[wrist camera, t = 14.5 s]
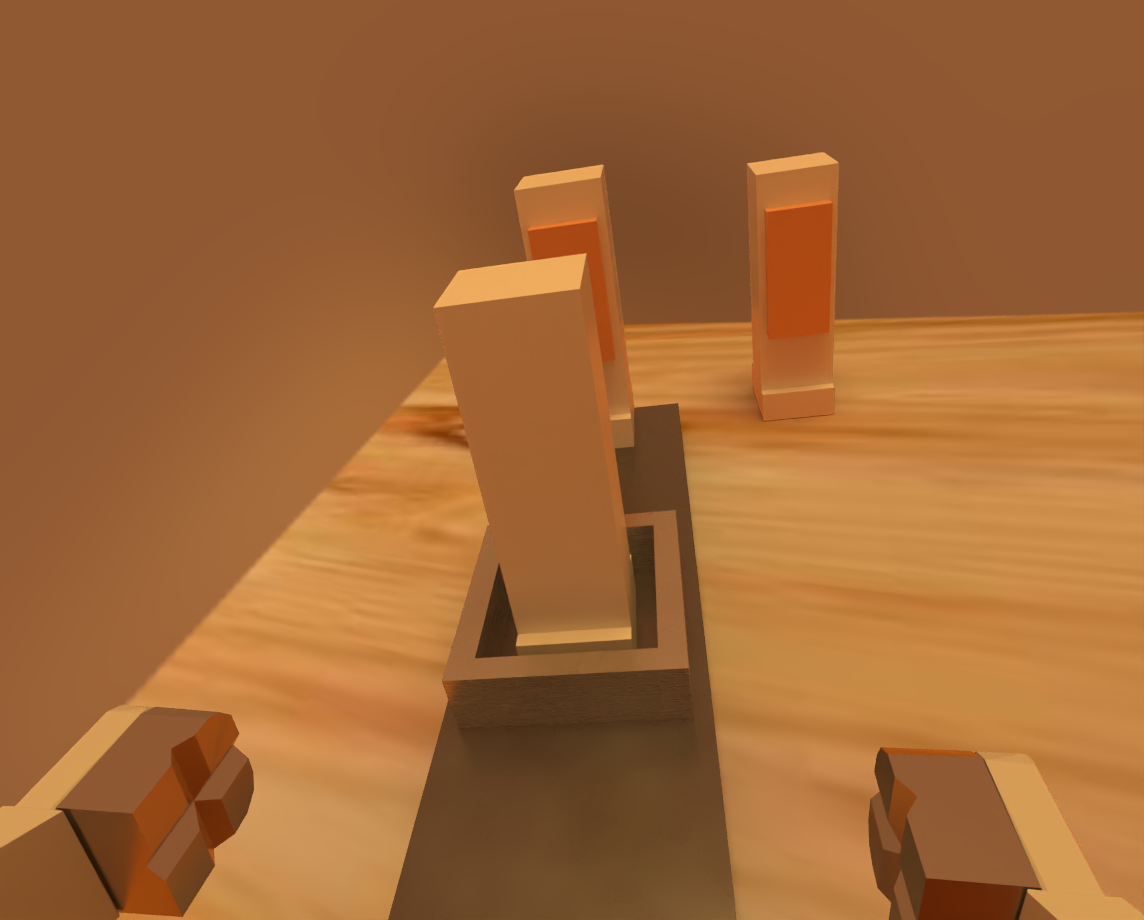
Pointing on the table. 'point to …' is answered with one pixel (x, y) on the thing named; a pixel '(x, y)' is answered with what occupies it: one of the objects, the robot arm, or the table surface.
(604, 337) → the post
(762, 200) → the white orange block
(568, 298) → the beige tall square block
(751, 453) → the table surface
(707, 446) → the table surface
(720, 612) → the table surface
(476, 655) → the rail
